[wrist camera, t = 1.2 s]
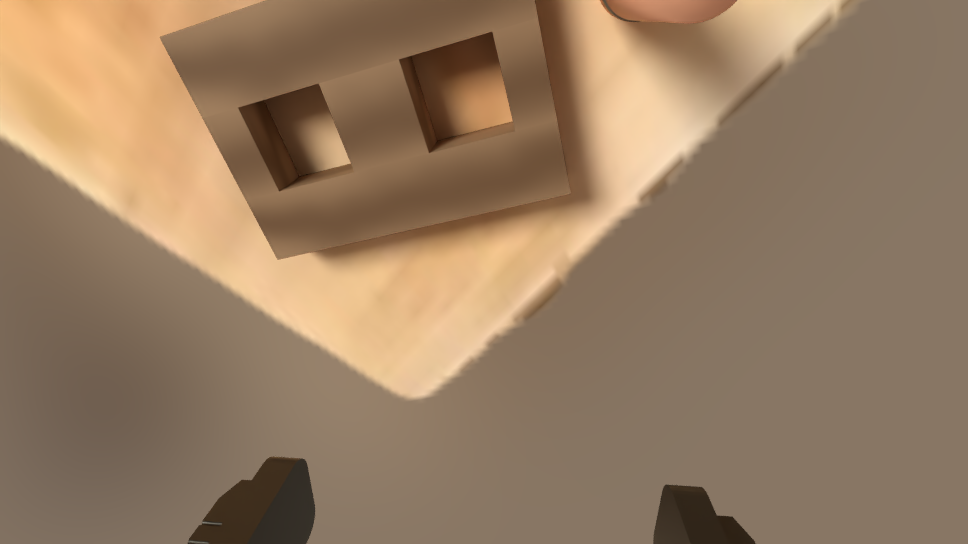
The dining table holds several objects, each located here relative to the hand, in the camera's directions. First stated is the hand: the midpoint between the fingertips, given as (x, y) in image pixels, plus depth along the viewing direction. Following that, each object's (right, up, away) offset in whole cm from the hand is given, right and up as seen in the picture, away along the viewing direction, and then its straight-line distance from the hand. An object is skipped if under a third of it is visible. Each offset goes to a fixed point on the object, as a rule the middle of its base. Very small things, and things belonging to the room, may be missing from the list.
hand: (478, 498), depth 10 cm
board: (-6, +15, +19) cm, 25 cm away
